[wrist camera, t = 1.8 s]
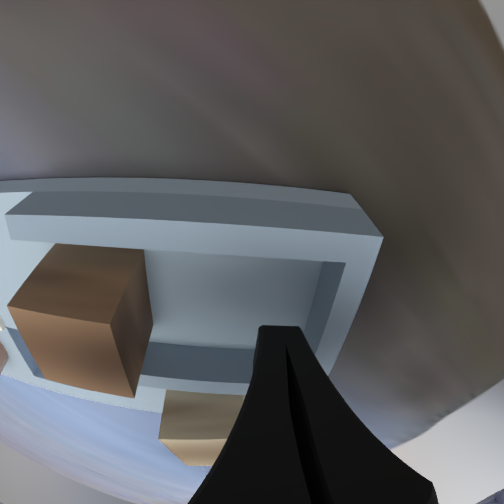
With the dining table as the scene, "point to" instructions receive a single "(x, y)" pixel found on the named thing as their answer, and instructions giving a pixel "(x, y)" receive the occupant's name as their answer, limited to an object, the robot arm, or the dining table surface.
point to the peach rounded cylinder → (3, 357)
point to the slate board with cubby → (197, 270)
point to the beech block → (198, 424)
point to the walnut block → (87, 317)
